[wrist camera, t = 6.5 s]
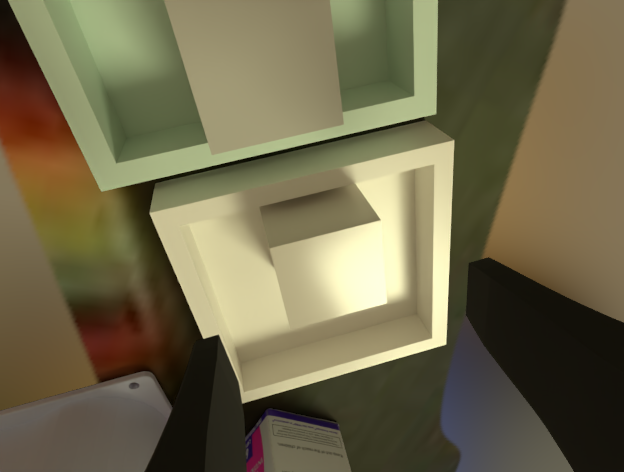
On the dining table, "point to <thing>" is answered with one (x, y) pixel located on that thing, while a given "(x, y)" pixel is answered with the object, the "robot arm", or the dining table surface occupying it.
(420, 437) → the dining table surface
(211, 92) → the cream cube block
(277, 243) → the ivory sharp-edged cube
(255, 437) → the supplement box
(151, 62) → the tub
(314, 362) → the tray
